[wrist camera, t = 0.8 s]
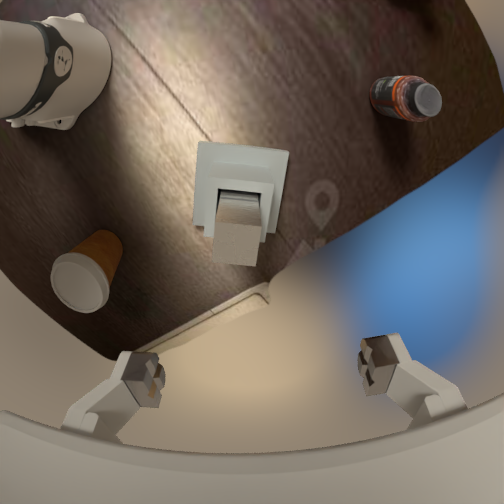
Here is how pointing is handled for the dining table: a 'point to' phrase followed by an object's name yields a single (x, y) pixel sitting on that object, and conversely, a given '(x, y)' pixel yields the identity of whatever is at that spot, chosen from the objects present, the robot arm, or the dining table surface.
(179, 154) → the dining table surface
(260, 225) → the column
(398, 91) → the supplement bottle
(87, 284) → the disposable coffee cup
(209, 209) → the stand base
